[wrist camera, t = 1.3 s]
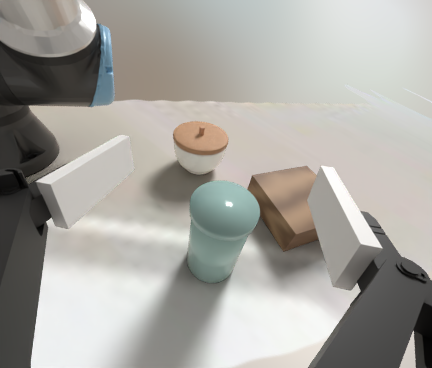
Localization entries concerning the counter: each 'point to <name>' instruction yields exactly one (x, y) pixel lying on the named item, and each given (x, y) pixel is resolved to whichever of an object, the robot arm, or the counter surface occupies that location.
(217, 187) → the canister
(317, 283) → the counter surface
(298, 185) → the slab
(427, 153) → the counter surface
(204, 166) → the lidded jar
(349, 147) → the counter surface
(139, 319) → the counter surface
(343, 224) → the robot arm
